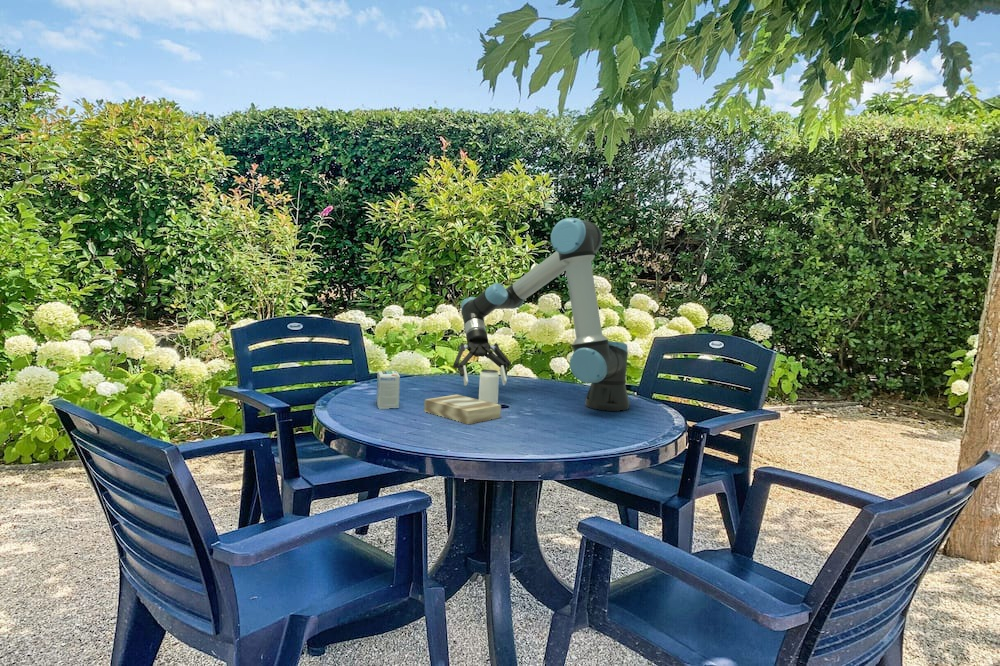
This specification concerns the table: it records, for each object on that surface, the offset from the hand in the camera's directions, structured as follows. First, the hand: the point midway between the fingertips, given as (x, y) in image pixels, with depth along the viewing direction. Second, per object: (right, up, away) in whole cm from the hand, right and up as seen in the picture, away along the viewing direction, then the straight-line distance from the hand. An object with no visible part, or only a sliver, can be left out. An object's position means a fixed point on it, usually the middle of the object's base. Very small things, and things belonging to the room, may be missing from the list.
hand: (485, 383), depth 206 cm
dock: (-7, -9, -15) cm, 19 cm away
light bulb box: (-32, -7, -7) cm, 34 cm away
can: (+1, -8, -1) cm, 8 cm away
